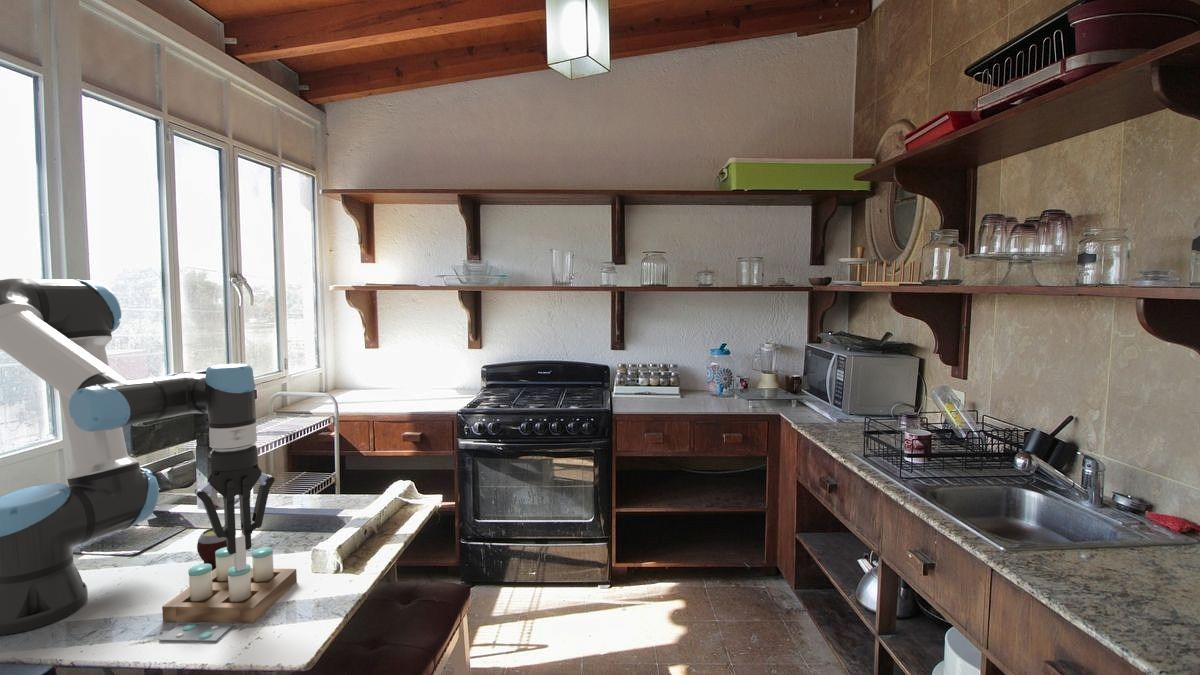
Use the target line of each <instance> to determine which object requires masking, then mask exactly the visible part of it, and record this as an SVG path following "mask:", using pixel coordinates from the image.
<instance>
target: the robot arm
mask: <svg viewBox="0 0 1200 675" xmlns="http://www.w3.org/2000/svg"><path fill="white" fill-rule="evenodd" d="M121 319H122V310H121V305H120V303H119V300H118V298H117V296H116V295H115V293H114V292H113V290H111V289H110V288H109V287H107V286H106V285H105V284H103V283H101V282H98V281H95V280H82V279H80V278H78V279H77V278H72V279H65V278H64V279H61V278H60V279H59V278H58V279H57V278H56V279H53V278H52V279H51V278H50V279H49V278H48V279H45V278H42V279H41V278H39V279H37V278H36V279H35V278H32V279H30V278H5V279H0V350H2V351H3V352H5V353H6V354H7V355H9V356H10V357H12V358H13V359H14V360H15V361H17V362H18V363H19V364H21V365H22V366H24V367H25V368H26V369H28V370H29V371H31V372H32V373H33V374H35V376H38V377H39V378H40V379H42V380H43V381H44V382H46V384H48V385H50V386H51V387H52V388H53V389H55V390H57V392H58V394H59V398H60V404H61V407H62V412H63V417H64V422H65V427H66V432H67V436H68V440H69V441H68V442H69V446H70V451H71V455H72V460H73V464H74V468H73V470H72V471H71V472H69V473H70V474H68V475H67V477H66V480H67V484H65V483H63V482H62V483H61V482H51V483H42V484H40V485H37V486H36V485H32V486H28V487H25V488H21V489H18V490H15V491H13V492H10V493H7V494H6V495H3V496H1V497H0V636H5V635H11V634H17V633H22V632H26V631H31V630H34V629H37V628H41V627H44V626H47V625H50V624H52V623H56V622H58V621H60V620H61V619H64V618H66V617H68V616H70V615H72V614H74V613H76V612H77V611H78V610H80V609H82V607H83V606H85V605H86V603H87V602H88V599H89V594H88V586H87V584H86V583H85V582H84V581H83V579H82V577H81V574H80V572H79V570H78V568H77V567H76V565H75V563H74V551H73V550H74V547H76V546H78V545H81V544H84V543H87V542H91V541H93V540H95V539H98V538H101V537H104V536H107V535H109V534H113V533H115V532H118V531H122V530H127V529H129V528H131V527H132V526H135V525H137V524H141V523H143V522H144V521H146V520H148V518H149V517H151V516H152V514H153V513H154V511H155V509H156V508H157V506H158V501H159V498H160V489H159V484H158V480H157V478H156V476H155V475H153V472H152V470H150V469H148V468H144V467H141V466H140V462H139V460H138V459H136V458H135V457H132V456H130V455H129V454H128V450H127V445H126V440H125V435H124V431H123V427H124V428H125V427H127V426H133V425H137V424H141V423H146V422H147V423H148V422H151V421H152V422H153V421H156V420H164V419H167V418H173V417H177V416H183V415H188V414H203V415H207V417H208V418H207V419H208V435H209V437H208V438H209V447H210V448H212V449H211V451H209V452H210V453H209V455H210V476H209V478H208V480H207V483H206V484H204V485H203V486H201V487H198V488H196V489H195V490H194V494H195V495H196V496H197V498H199V500H200V501H202V504H203V506H204V509H205V511H206V515H207V518H208V519H209V522H210V525H211V528H213V531H214V533H215V534H216V536H217V537H218V538H221V537H226V543H227V551H228V553H229V554H233V555H234V567H235V568H236V570H237V571H240V570H244V569H247V566H246V564H247V552H246V551H248V550H251V549H252V546H253V544H252V534H253V531H255V530H256V529H259V528H261V527H262V525H263V520H264V516H265V511H266V507H267V502H268V498H269V492H270V489H271V487H272V486H273V484H274V483H275V481H276V479H275V477H273V475H272V474H266V473H263V472H262V470H261V468H260V467H259V455H258V453H259V452H258V446H257V444H256V443H257V441H258V437H257V436H258V435H257V434H258V432H257V421H256V420H257V418H256V416H257V414H256V391H255V390H256V383H255V379H254V377H255V376H254V371H253V368H252V366H251V365H249V364H246V363H223V364H216V365H211V366H209V367H207V368H206V370H205V373H195V372H190V371H183V372H172V373H168V374H166V375H165V376H162V377H155V378H147V379H146V378H145V379H138V380H129V379H126V378H125V377H124V376H122V375H121V374H119V373H117V371H115V370H113V369H112V368H111V367H110V365H109V359H108V355H107V352H106V351H107V350H106V347H107V345H108V344H109V343H110V342H111V341H112V340H113V335H112V333H113V332H114V331H116V330H117V329H118V328H119V326H120V324H121ZM257 482H258V484H259V486H258V490H257V494H256V499H255V504H254V508H253V512H252V514H251V491H252V490H253V488H254V487H255V485H256V484H257ZM212 489H214V490H215V491H216V492H217V493H218V494H220V495H221V496H222V499H223V510H224V512H223V513H224V525H225V529H223V528H222V527H223V526H222V523H221V521H220V518H219V515H218V512H217V509H216V507H215V504H214V501H213V500H212V498H211V497H212V496H213V491H212ZM236 496H238V497H239V500H238V501H239V514H240V515H239V518H240V519H239V520H240V529H241V531H238V532H236V514H235V513H236V512H235V505H234V502H235V500H236Z"/></svg>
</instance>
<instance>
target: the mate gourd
mask: <svg viewBox="0 0 1200 675" xmlns="http://www.w3.org/2000/svg"><path fill="white" fill-rule="evenodd" d="M239 501H240V500H239V496H238V497H237V498H235V502H234V506H235V505H236V504H237V502H239ZM222 528H223V529H225V524H224V525H223V526H222ZM225 547H227V543H226V537H221V538H218V537H217V536H216V534H215V533H214V531H213V528H212V527H211V528H208V529H206V530H204V531H203V532H202V533H201V534H200V536H199V538H198V540H197V544H196V549H197V553H198V555H199V557H200V559H201V560H202V561H203V563H202V564H211V565H212V571H213V570H214V569H216V556H215V552H216V551H217V550H219V549H221V548H225Z"/></svg>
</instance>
